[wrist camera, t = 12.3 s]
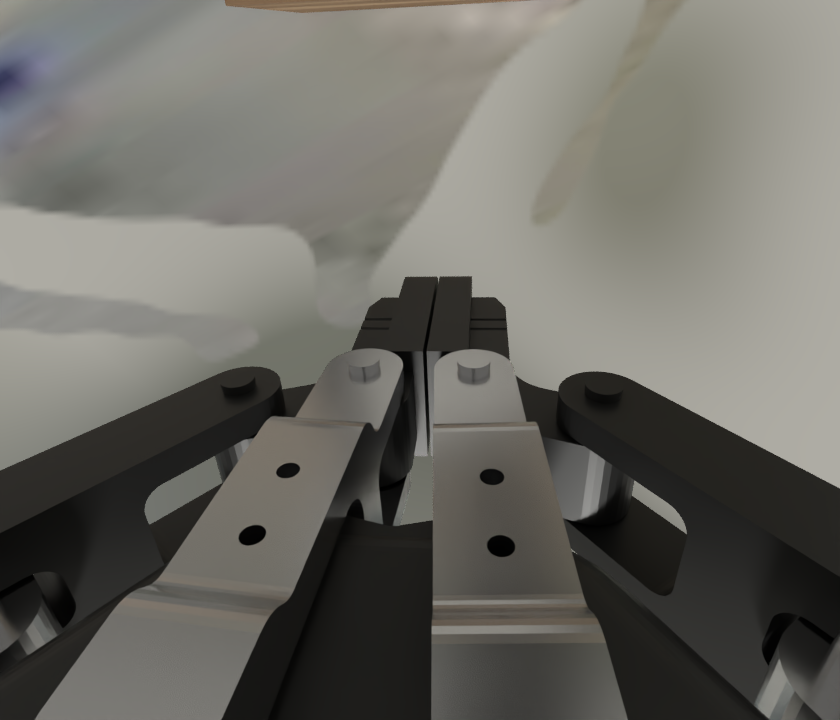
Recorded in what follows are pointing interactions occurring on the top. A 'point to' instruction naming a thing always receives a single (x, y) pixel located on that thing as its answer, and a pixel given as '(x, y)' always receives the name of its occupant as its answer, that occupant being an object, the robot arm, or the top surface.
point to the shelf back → (344, 4)
